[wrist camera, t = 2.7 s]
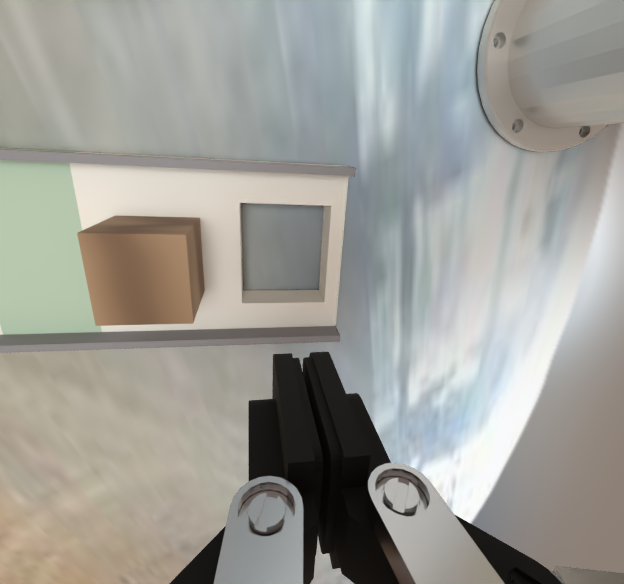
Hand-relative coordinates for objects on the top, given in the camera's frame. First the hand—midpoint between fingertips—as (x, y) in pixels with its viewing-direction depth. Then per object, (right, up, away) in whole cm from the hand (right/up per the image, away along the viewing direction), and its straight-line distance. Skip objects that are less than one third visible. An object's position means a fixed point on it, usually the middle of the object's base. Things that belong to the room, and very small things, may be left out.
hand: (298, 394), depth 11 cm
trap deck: (-13, +6, +14) cm, 20 cm away
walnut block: (-9, +6, +12) cm, 16 cm away
